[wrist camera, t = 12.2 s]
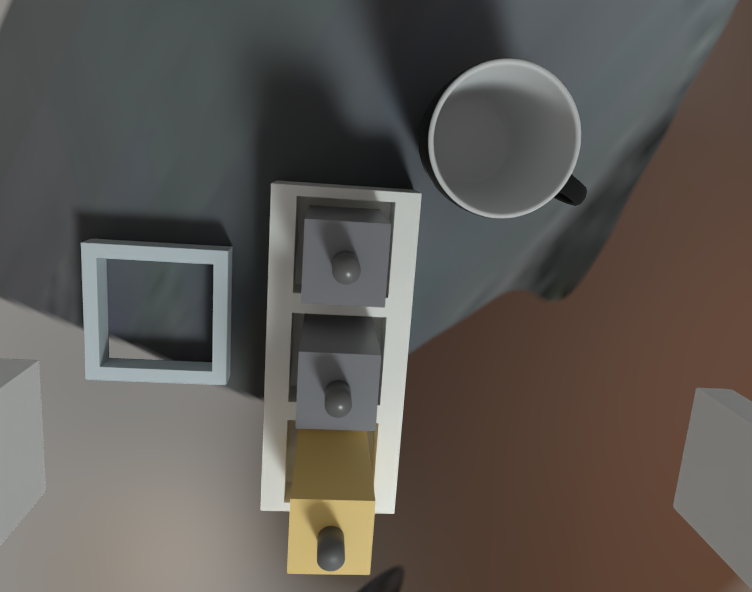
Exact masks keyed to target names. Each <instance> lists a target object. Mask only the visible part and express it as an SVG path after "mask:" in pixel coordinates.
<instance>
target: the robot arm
mask: <svg viewBox="0 0 752 592" xmlns="http://www.w3.org/2000/svg"><path fill="white" fill-rule="evenodd" d="M45 491H46V484H45V465H44V446H43V428H42V410H41V391H40V372H39V360H24V359H23V360H22V359H0V546H1V545H2V543H3V542H4V541H5V540H6V538H7V537H8V536H9V535H10V534H11V532H12V531H13V530H14V529H15V528H16V526H17V525H18V524H19V523H20V521H21V520H22V519H23V518H24V517H25V516H26V514H27V513H28V512H29V511H30V510H31V508H32V507H33V506H34V505H35V503H36V502H37V501H38V500H39V499H40V497H41V496H42V495H43V494H44V493H45ZM673 507H674V508H675V509H676V510H677V512H678V513H679V514H680V515H681V516H682V517H683V518H684V519H685V520H686V521H687V522H688V523H689V524H690V525H691V526H692V527H693V528H694V529H695V530H696V532H698V534H699V535H700V536H701V537H702V538H703V539H704V540H705V541H706V542H707V543H708V544H709V545H710V546H711V547H712V548H713V549H714V550H715V551H716V552H717V553H718V555H719V556H720V557H721V558H722V559H723V560H724V561H725V562H726V563H727V564H728V565H729V566H730V567H731V568H732V569H733V570H734V571H735V572H736V574H738V576H739V577H740V578H741V579H742V580H743V581H744V582H745V583H746V584H747V585H748V586H749V587H750V588H751V589H752V401H750V400H748V399H747V398H745V397H743V396H742V395H740V394H738V393H737V392H735V391H733V390H732V389H712V388H696V392H695V397H694V402H693V407H692V413H691V418H690V423H689V428H688V433H687V438H686V443H685V449H684V453H683V458H682V463H681V468H680V474H679V479H678V484H677V489H676V494H675V499H674V504H673Z"/></svg>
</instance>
